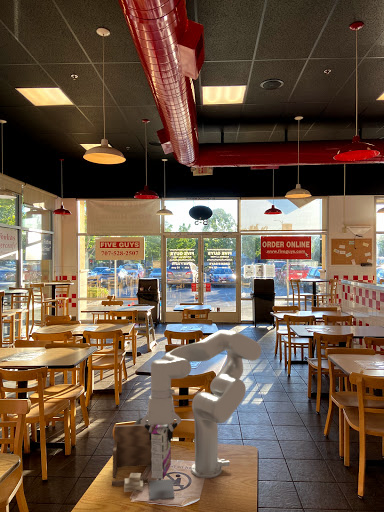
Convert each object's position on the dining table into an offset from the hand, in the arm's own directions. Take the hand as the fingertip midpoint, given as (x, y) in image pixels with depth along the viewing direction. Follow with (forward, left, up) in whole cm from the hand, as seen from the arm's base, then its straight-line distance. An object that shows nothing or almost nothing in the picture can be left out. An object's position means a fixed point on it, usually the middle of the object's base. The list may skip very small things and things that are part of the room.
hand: (161, 440), depth 148 cm
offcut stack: (+10, -3, -18) cm, 21 cm away
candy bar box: (0, 0, -12) cm, 12 cm away
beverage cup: (+8, -30, -19) cm, 36 cm away
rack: (+10, -12, -18) cm, 24 cm away
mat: (0, 0, -18) cm, 18 cm away
